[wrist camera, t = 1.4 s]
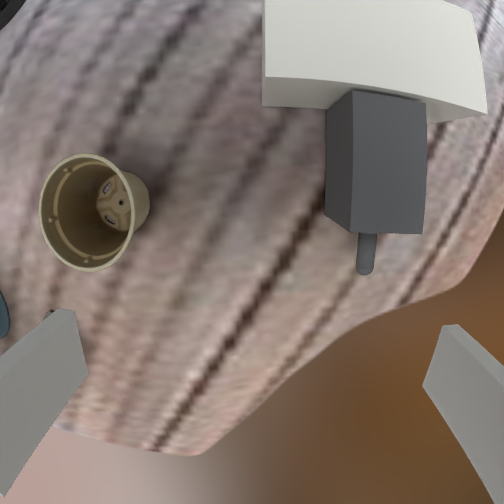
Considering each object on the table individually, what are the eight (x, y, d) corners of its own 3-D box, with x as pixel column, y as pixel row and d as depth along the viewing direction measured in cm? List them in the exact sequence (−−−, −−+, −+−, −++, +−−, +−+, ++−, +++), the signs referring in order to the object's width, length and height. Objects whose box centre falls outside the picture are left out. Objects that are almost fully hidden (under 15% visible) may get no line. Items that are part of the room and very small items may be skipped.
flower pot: (96, 147, 28) (49, 143, 20) (177, 167, 29) (148, 168, 21) (79, 231, 31) (33, 251, 22) (154, 257, 31) (122, 287, 23)
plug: (324, 56, 25) (347, 21, 17) (381, 64, 25) (418, 36, 17) (321, 261, 30) (344, 293, 22) (377, 261, 30) (413, 291, 22)
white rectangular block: (261, 18, 25) (264, -35, 15) (422, 42, 25) (471, 12, 15) (261, 106, 27) (265, 76, 18) (429, 124, 27) (487, 114, 18)
